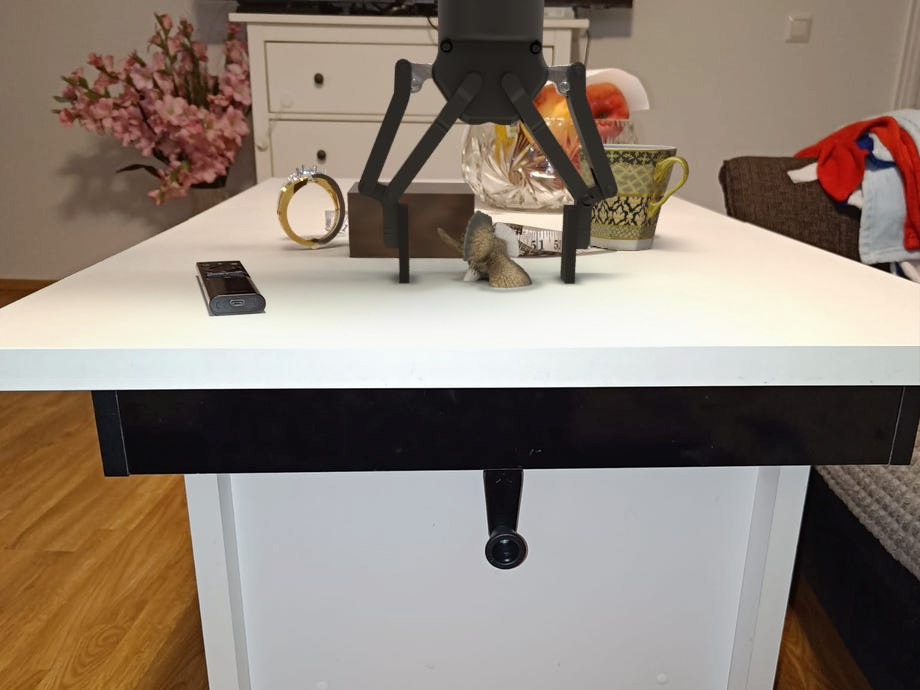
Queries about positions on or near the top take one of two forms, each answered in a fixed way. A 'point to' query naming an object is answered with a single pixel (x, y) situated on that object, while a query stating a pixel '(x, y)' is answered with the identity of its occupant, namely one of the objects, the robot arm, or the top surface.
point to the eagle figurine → (490, 252)
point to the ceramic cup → (633, 194)
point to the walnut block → (412, 220)
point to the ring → (292, 187)
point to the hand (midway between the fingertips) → (486, 291)
